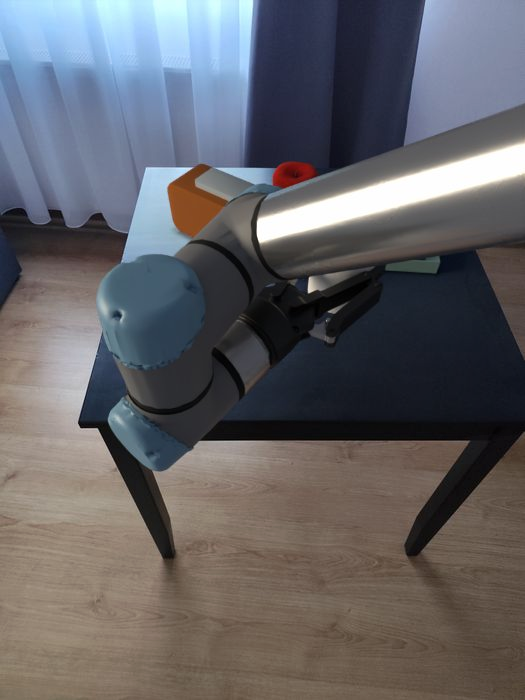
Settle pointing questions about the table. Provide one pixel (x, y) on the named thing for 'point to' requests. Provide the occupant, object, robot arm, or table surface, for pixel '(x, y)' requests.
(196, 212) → the alarm clock
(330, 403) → the table surface
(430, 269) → the scale
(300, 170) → the apple
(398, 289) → the table surface
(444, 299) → the table surface
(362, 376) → the table surface
